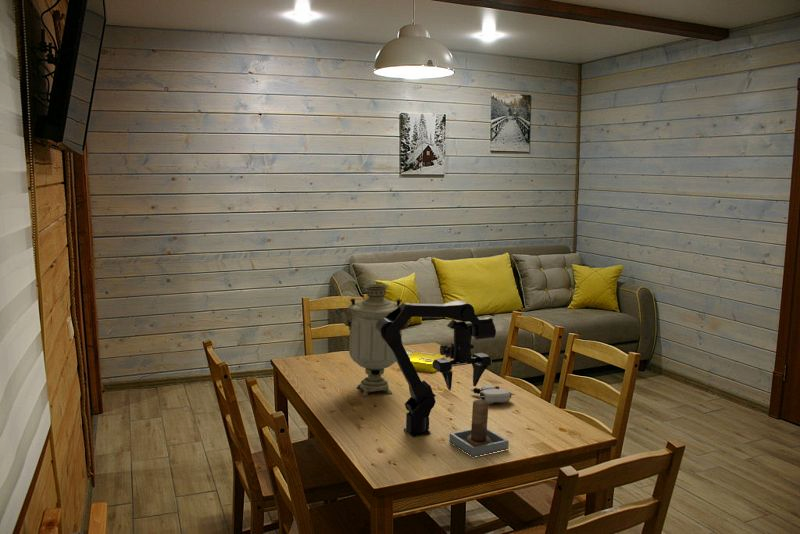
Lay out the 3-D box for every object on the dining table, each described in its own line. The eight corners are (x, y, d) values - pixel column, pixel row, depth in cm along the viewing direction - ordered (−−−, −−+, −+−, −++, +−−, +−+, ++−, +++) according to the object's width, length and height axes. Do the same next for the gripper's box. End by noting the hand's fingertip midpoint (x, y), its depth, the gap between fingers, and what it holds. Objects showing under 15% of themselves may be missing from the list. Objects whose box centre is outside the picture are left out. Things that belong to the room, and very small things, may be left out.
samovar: (418, 379, 265) (419, 280, 260) (412, 401, 240) (414, 291, 234) (344, 376, 268) (344, 278, 263) (331, 397, 242) (330, 289, 237)
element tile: (445, 364, 288) (445, 354, 288) (433, 374, 275) (433, 362, 274) (413, 360, 294) (413, 350, 293) (399, 369, 280) (400, 358, 280)
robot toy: (468, 396, 248) (484, 407, 234) (468, 384, 248) (484, 394, 234) (499, 394, 252) (516, 404, 237) (499, 382, 251) (516, 392, 237)
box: (473, 458, 192) (473, 448, 192) (449, 442, 203) (449, 433, 203) (508, 450, 198) (508, 440, 197) (483, 435, 209) (483, 426, 208)
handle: (475, 451, 196) (477, 409, 193) (462, 441, 202) (464, 400, 199) (494, 446, 199) (497, 405, 196) (480, 436, 205) (483, 396, 202)
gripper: (475, 331, 223) (474, 377, 225) (424, 338, 215) (424, 384, 217) (493, 339, 212) (492, 387, 215) (440, 346, 205) (440, 395, 207)
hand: (462, 388), depth 214 cm, fingers open, 9 cm apart
